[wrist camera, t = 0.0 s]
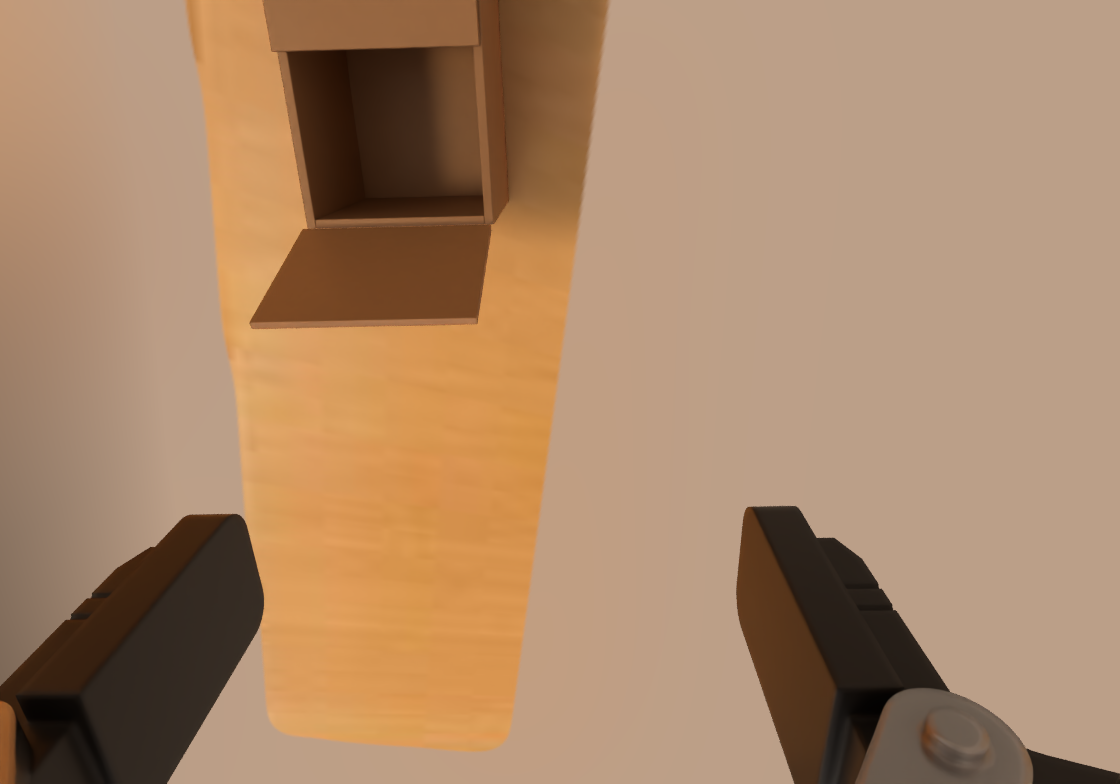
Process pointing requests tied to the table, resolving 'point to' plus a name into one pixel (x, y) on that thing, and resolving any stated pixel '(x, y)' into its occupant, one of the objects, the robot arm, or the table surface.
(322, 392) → the table surface
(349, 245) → the flap
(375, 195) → the carton
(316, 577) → the table surface
